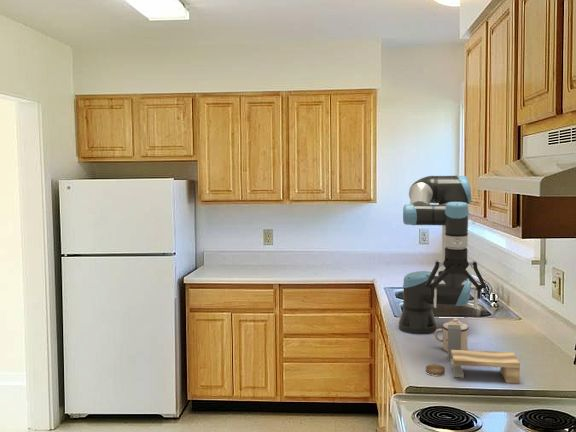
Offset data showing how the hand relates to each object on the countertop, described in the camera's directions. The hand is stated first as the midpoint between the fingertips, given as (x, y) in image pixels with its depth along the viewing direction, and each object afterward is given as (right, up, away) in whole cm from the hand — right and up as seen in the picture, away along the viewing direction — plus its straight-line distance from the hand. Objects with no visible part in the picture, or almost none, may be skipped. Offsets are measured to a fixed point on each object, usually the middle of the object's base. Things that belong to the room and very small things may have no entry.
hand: (455, 307), depth 203 cm
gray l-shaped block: (-1, -20, -5) cm, 20 cm away
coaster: (-9, -21, -9) cm, 24 cm away
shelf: (+7, -20, -12) cm, 25 cm away
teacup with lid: (+2, -18, +13) cm, 22 cm away
